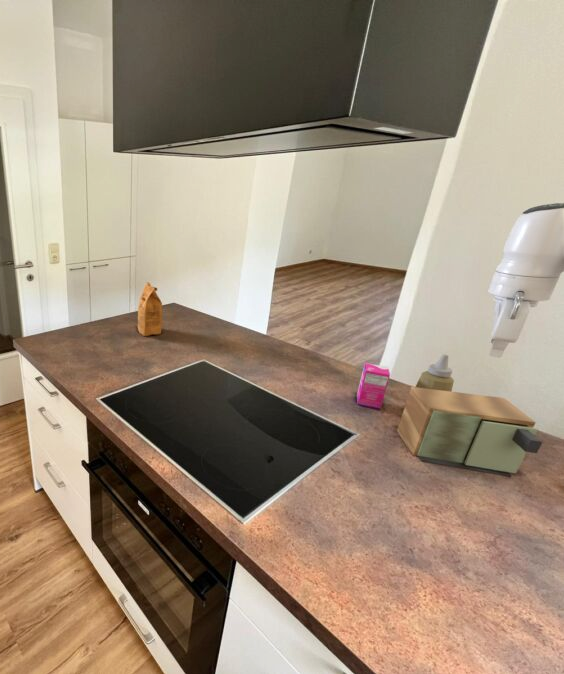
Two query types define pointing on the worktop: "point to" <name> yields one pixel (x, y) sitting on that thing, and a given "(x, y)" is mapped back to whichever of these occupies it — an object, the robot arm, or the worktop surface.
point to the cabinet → (452, 424)
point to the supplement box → (373, 386)
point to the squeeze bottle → (437, 376)
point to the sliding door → (502, 446)
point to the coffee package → (149, 312)
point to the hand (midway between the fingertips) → (495, 349)
